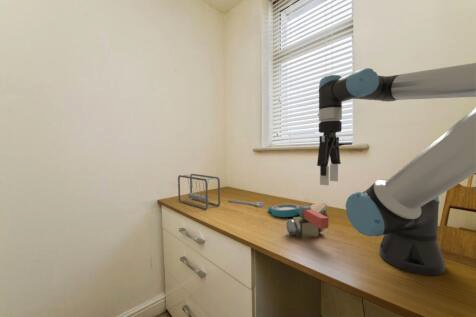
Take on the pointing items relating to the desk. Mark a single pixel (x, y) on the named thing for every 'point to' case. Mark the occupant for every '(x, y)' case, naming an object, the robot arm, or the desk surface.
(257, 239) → the desk surface
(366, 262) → the desk surface
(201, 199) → the newton's cradle
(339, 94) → the robot arm
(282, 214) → the butterfly valve
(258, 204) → the adjustable wrench
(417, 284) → the desk surface
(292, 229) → the valve body
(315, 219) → the lever
